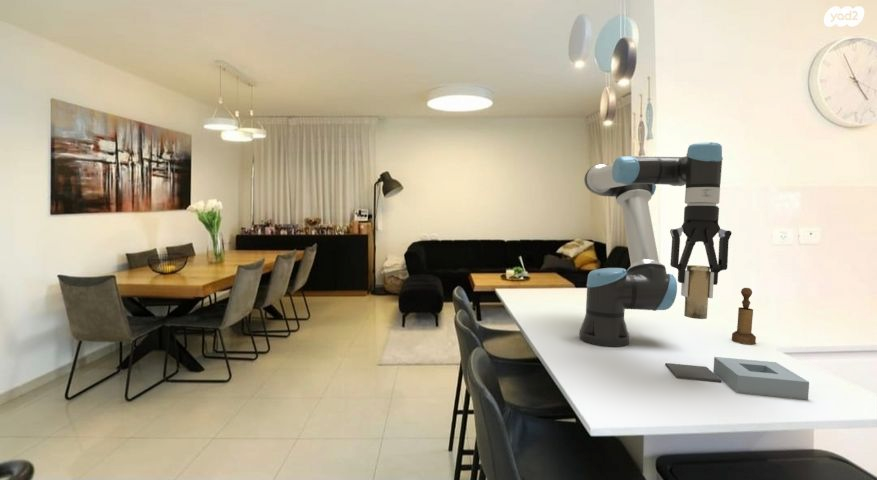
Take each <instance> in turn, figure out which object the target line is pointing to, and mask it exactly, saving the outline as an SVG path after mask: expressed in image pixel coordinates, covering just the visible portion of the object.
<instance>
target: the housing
mask: <svg viewBox="0 0 877 480" xmlns="http://www.w3.org/2000/svg"><path fill="white" fill-rule="evenodd" d="M712 372H713V373H714V374H715V375H717V376H718V377H719V378H720V379H721V380H722V382H724V383H726V384H727V385H728V386H729V387H731V388H732V389H733V390H734V391H735V393H738V394H739V393H740V394H746V395H747V394H750V395H759V396H767V397H778V398H789V399H790V398H791V399H798V400H809V390H810V381H809V380H807V379H805V378H803V377H801V376H800V375H799V374H797V373H795V372H793V371H791V370H789V369H788V368H786V367H785V366H783V365H781V364H780V363H778V362H776V361H768V360H755V359H746V358H745V359H744V358H742V359H741V358H732V357H721V356H720V357H719V356H714V358H713V371H712Z"/></svg>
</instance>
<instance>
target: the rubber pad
mask: <svg viewBox="0 0 877 480" xmlns="http://www.w3.org/2000/svg"><path fill="white" fill-rule="evenodd" d="M664 364H665V365H664V366H665V367H666V368H667V369H668V370H669V371H670V372H671V373H672V374H673V376H674V377H675V378H676V379H681V380H683V379H684V380H691V381H692V380H693V381H702V382H713V383H722V382H723V380H722V379H721V378H720V377H719V376H718V375H716V374H715V373H714V372H713V371H712V370H711V369H710V368H709V367H707V366H705V365H704V366H702V365H691V364H682V363H681V364H680V363H672V362H671V363H670V362H665V363H664Z"/></svg>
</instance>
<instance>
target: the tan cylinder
mask: <svg viewBox="0 0 877 480" xmlns="http://www.w3.org/2000/svg"><path fill="white" fill-rule="evenodd" d="M686 270H687V271H689V281H688V297H684V314H683V315H684V316H685V317H687V318H690V319H696V320H697V319H698V320H706V319H708V309H709V308H708V305H709V298H708V291H709V273H710V271H711V270H710V266H709V265H708V266H707V265H694V264H687V267H686Z"/></svg>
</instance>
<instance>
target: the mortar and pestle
mask: <svg viewBox="0 0 877 480" xmlns="http://www.w3.org/2000/svg"><path fill="white" fill-rule="evenodd" d="M740 294H741V295H742V298H743V299H742V301H741V304H742V306H741V307H738V312H737V314H738V315H737V326H736V331H734V332H732V333H731V340H732V341H733V342H735V343H738V342H739V344H742V343H745V344H744V345H751V346H752V345H756V340H757V339H756V338H757V337H756V336H755V335H754V333H752V329H753V328H752V327H753V316H754V309H753V308H750V305H751V301H750V297H752V294H753V291H752V289H751V288H750V287H743V288H742V289H741V291H740Z"/></svg>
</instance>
